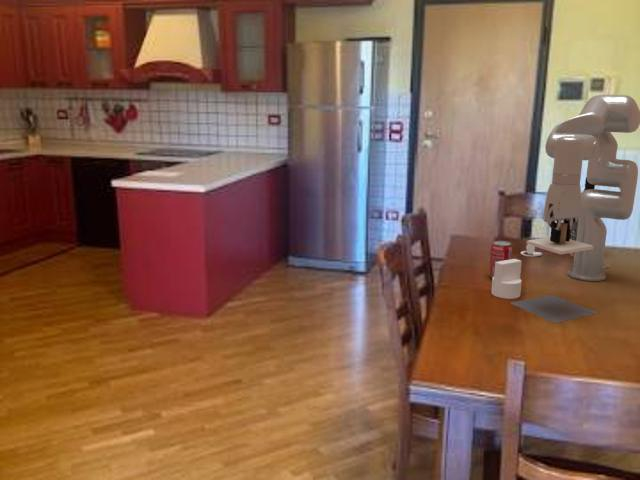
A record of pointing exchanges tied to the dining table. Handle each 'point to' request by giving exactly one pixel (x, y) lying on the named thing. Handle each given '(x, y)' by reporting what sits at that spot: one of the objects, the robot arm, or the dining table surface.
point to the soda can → (499, 254)
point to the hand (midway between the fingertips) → (559, 240)
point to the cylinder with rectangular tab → (507, 279)
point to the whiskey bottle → (575, 226)
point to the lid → (560, 247)
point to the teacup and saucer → (531, 251)
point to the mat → (553, 308)
